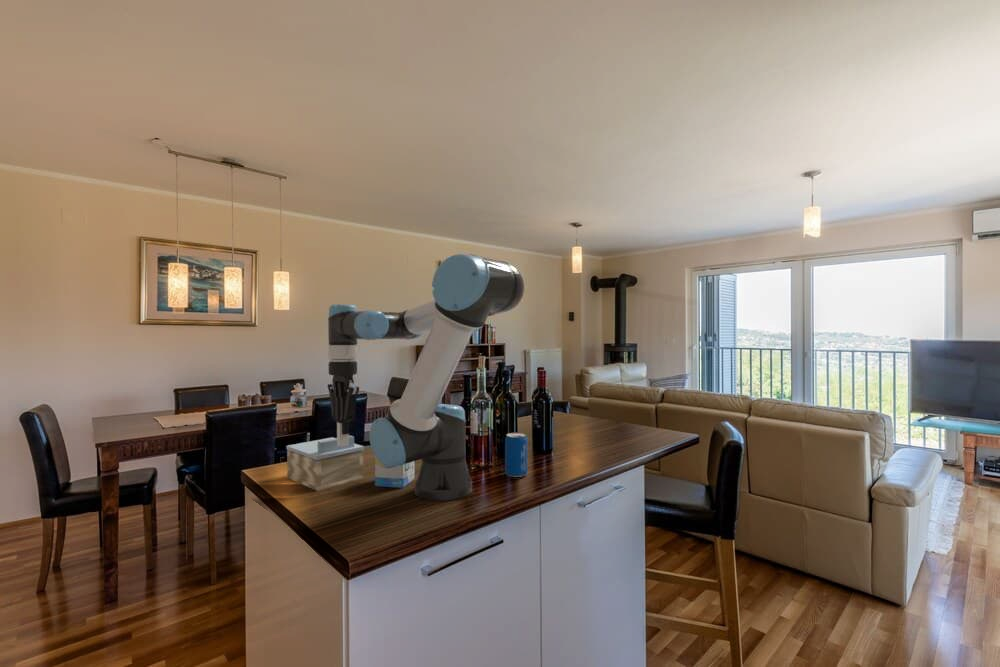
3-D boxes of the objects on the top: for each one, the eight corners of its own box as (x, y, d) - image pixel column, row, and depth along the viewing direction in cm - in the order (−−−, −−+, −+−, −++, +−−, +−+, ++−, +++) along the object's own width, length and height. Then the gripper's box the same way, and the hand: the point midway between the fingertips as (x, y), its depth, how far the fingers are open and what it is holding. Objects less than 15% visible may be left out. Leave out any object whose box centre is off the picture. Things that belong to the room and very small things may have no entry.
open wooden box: (363, 478, 132) (363, 450, 132) (316, 490, 122) (316, 461, 122) (332, 467, 144) (332, 441, 144) (287, 477, 134) (287, 450, 134)
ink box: (403, 488, 124) (403, 445, 124) (374, 486, 125) (374, 444, 125) (415, 478, 132) (415, 438, 132) (388, 477, 134) (387, 437, 134)
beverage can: (515, 480, 130) (515, 438, 130) (500, 475, 135) (500, 434, 135) (531, 475, 134) (531, 434, 134) (516, 470, 139) (516, 431, 139)
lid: (364, 449, 132) (364, 436, 132) (316, 460, 122) (316, 445, 122) (332, 440, 145) (332, 427, 145) (286, 449, 134) (286, 435, 134)
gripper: (367, 360, 125) (367, 446, 125) (343, 359, 134) (343, 439, 134) (342, 362, 119) (342, 452, 119) (318, 360, 128) (318, 444, 128)
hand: (342, 445), depth 126 cm, fingers closed
